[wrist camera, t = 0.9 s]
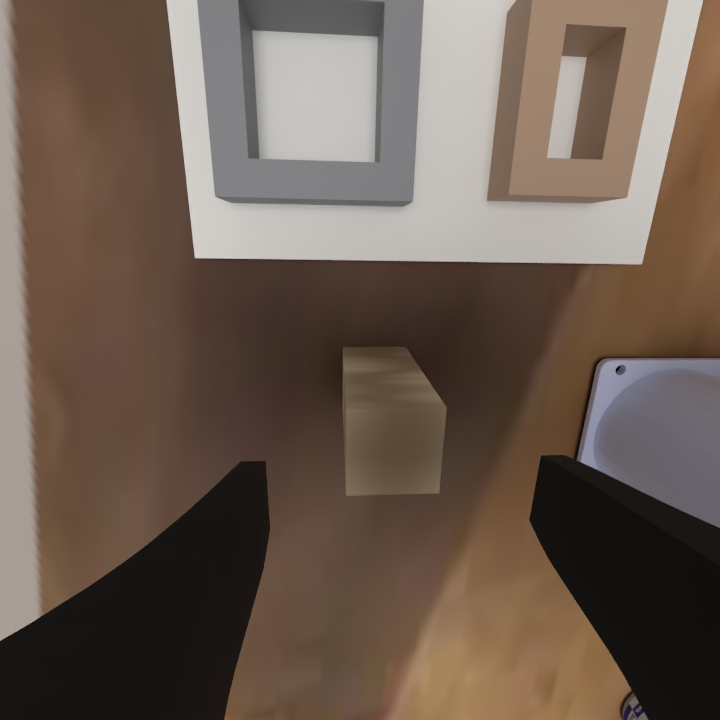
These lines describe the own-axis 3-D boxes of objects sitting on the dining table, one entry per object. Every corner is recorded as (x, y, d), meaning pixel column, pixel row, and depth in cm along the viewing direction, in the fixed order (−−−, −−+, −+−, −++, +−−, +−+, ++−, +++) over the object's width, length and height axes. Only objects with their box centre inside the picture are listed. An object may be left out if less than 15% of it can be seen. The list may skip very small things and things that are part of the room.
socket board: (690, -40, 14) (782, -113, 11) (624, 263, 17) (682, 266, 14) (169, -75, 13) (120, -167, 10) (203, 257, 16) (174, 260, 13)
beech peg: (405, 346, 18) (447, 407, 11) (402, 404, 19) (439, 493, 12) (342, 346, 18) (346, 409, 11) (342, 405, 19) (345, 495, 12)
